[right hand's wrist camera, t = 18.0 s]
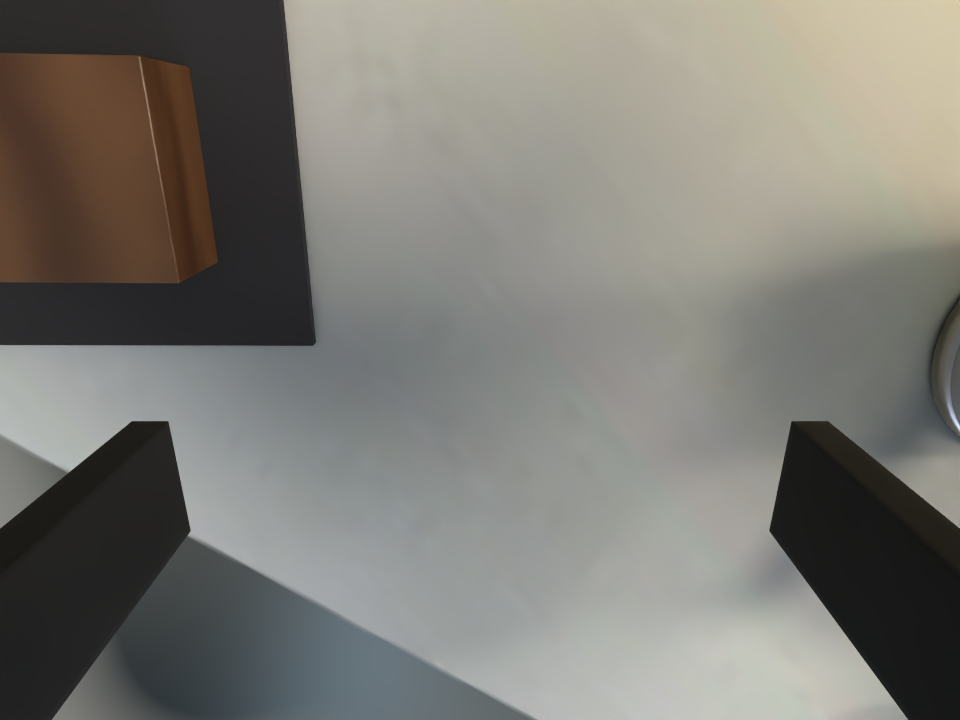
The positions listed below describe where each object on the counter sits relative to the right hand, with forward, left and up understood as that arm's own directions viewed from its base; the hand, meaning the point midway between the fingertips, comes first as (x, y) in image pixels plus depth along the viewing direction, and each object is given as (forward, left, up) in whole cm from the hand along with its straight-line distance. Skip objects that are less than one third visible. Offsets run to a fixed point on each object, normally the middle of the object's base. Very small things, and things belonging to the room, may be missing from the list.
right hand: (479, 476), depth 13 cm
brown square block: (+19, -5, -23) cm, 30 cm away
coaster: (+19, -5, -23) cm, 31 cm away
